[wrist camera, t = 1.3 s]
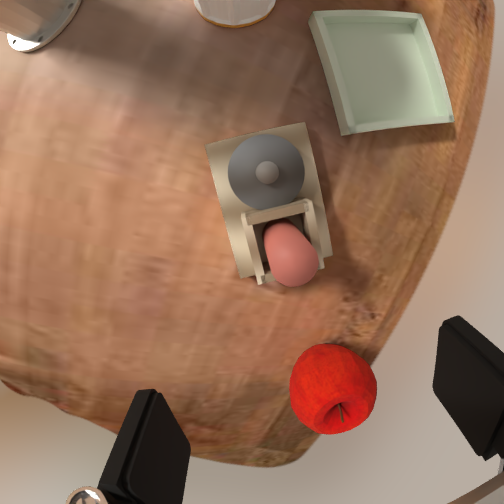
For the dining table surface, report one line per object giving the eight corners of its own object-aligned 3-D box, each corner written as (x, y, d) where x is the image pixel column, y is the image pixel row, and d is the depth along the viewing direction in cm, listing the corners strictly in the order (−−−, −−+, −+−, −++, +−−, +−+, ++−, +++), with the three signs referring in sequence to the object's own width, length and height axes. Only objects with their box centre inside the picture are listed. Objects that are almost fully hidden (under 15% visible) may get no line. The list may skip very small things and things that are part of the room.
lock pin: (258, 222, 31) (264, 246, 22) (293, 213, 30) (313, 234, 22) (266, 255, 32) (275, 291, 23) (300, 247, 31) (322, 279, 23)
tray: (307, 21, 26) (312, 11, 24) (410, 21, 26) (421, 13, 23) (341, 135, 30) (349, 133, 27) (441, 123, 30) (454, 121, 27)
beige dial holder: (206, 146, 30) (199, 142, 25) (301, 124, 30) (312, 116, 24) (240, 271, 34) (240, 292, 29) (328, 250, 34) (343, 266, 28)
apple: (368, 332, 37) (407, 391, 25) (337, 388, 40) (361, 452, 28) (299, 316, 36) (321, 381, 24) (272, 378, 38) (281, 448, 27)
